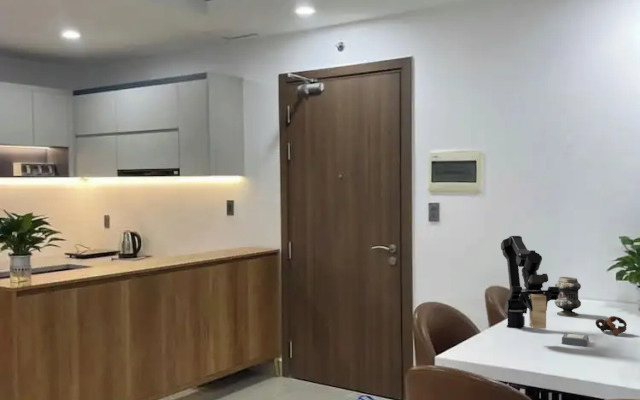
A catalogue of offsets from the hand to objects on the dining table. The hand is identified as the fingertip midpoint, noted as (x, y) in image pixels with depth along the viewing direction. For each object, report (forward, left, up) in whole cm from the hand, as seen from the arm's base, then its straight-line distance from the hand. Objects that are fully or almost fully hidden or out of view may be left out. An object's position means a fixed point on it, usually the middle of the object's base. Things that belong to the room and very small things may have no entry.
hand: (538, 310), depth 254 cm
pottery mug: (+23, +36, -14) cm, 45 cm away
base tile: (+12, +11, -13) cm, 21 cm away
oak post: (-1, +1, -7) cm, 7 cm away
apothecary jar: (+2, +71, -14) cm, 72 cm away
